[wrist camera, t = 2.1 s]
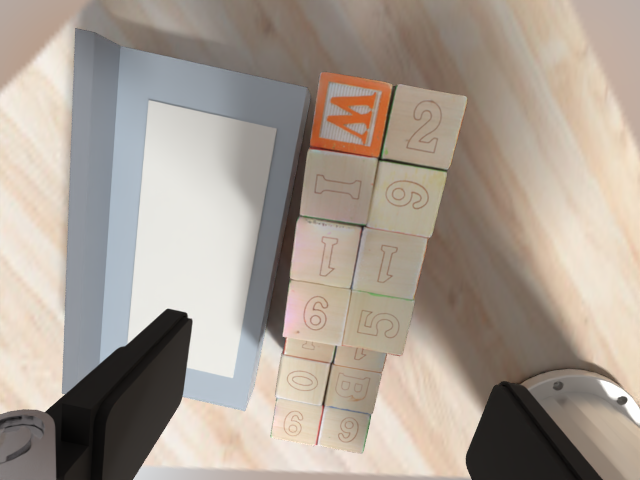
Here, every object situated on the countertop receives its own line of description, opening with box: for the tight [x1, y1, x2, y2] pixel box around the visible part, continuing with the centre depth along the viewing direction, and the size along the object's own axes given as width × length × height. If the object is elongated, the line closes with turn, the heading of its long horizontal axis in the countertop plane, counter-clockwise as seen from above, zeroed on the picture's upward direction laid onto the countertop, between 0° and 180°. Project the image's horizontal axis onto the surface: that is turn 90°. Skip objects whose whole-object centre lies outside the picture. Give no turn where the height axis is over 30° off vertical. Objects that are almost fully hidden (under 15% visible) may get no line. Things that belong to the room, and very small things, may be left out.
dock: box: [62, 28, 311, 411], centre depth 26 cm, size 14×26×5 cm, turn 168°
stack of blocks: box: [270, 72, 467, 454], centre depth 22 cm, size 21×6×12 cm, turn 170°
